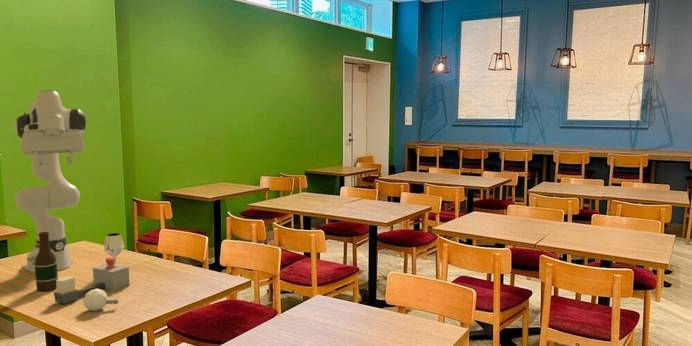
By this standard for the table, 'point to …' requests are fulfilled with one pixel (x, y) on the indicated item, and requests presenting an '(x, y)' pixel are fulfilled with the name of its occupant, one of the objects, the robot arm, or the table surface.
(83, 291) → the rail
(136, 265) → the table surface
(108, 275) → the grey holed block
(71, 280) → the cream box
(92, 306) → the perfume bottle
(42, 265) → the beer bottle
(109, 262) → the plunger
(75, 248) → the table surface
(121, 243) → the wineglass
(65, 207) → the robot arm
